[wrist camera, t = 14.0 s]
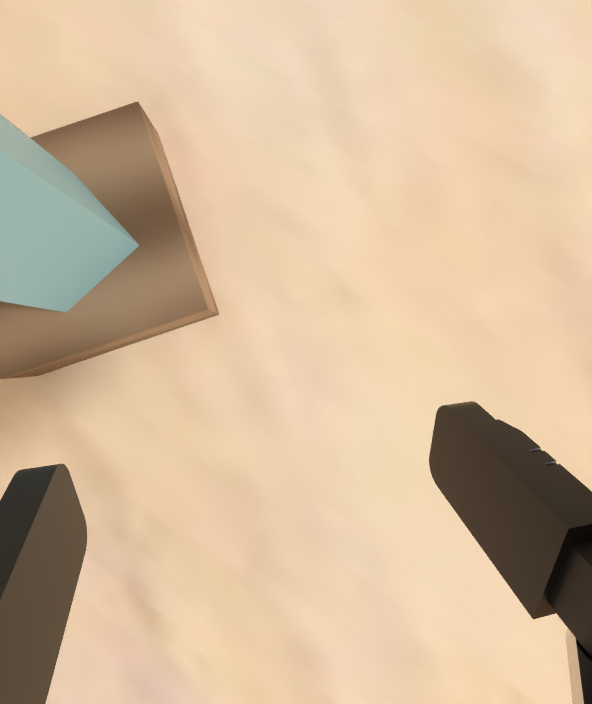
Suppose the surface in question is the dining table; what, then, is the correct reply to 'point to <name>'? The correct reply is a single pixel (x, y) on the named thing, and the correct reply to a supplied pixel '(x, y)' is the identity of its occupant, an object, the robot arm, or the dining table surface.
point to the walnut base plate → (134, 271)
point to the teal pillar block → (51, 228)
